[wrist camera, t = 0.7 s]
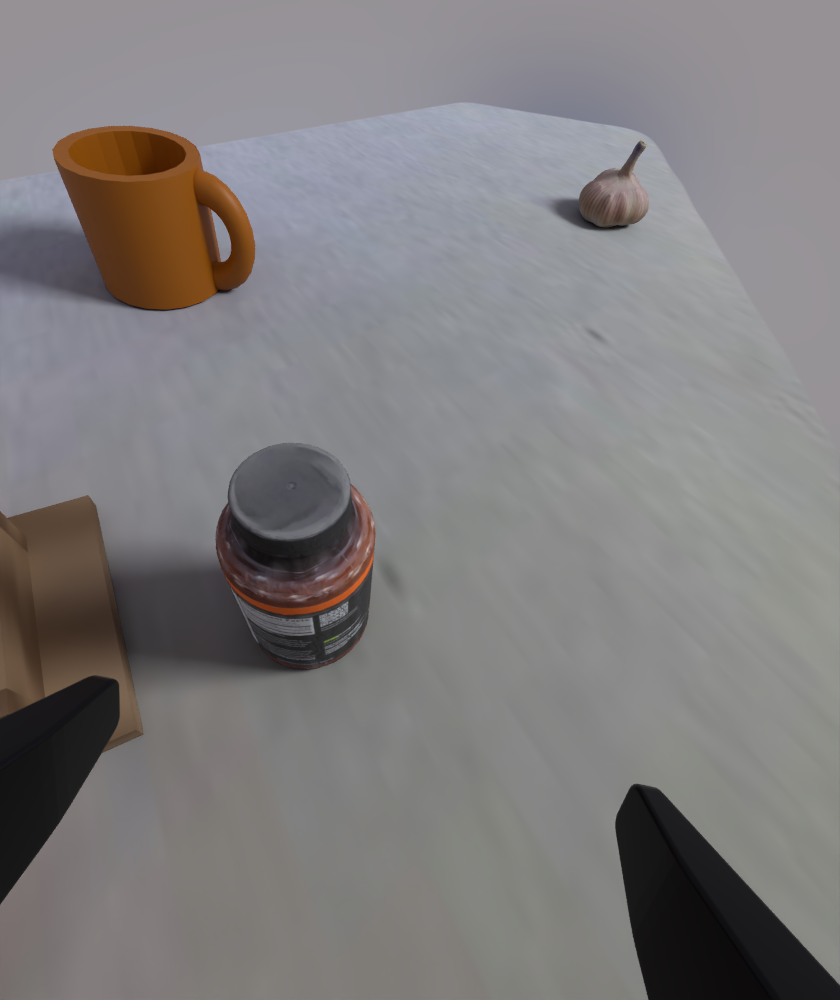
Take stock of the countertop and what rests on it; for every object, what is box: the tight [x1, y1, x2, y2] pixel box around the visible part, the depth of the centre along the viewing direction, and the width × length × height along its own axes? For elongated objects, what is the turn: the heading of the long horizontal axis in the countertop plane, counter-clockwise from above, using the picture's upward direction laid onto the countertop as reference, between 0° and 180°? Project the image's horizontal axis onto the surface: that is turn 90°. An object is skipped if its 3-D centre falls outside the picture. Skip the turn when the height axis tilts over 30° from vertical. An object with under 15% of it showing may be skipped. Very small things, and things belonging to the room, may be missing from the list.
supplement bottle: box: [216, 443, 375, 669], centre depth 21 cm, size 6×6×11 cm
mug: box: [53, 126, 255, 310], centre depth 36 cm, size 9×12×9 cm
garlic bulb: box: [579, 141, 649, 228], centre depth 53 cm, size 8×7×8 cm
